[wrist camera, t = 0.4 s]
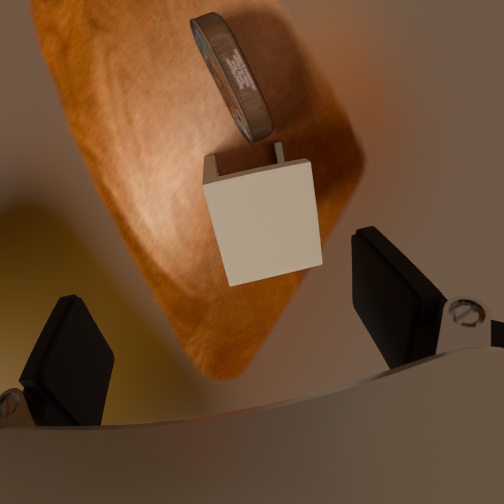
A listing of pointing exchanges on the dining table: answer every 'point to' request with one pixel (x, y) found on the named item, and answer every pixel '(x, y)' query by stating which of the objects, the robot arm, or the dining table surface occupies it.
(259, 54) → the dining table surface
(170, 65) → the dining table surface
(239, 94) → the tin
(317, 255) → the white u-channel
